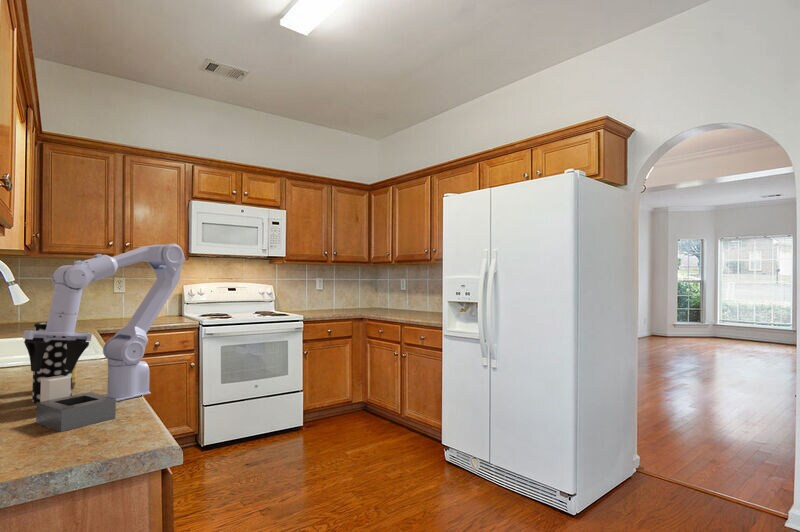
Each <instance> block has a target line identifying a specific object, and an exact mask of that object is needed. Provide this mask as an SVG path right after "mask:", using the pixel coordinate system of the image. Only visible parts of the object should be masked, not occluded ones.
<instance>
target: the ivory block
mask: <svg viewBox="0 0 800 532" xmlns="http://www.w3.org/2000/svg"><path fill="white" fill-rule="evenodd" d="M70 393H71V377H67V376H63V375H61V376H54V377H48V378H42V379H41V392H40V402H42V401H47V400H53V399H58V398H63V397H68V396H70Z"/></svg>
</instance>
